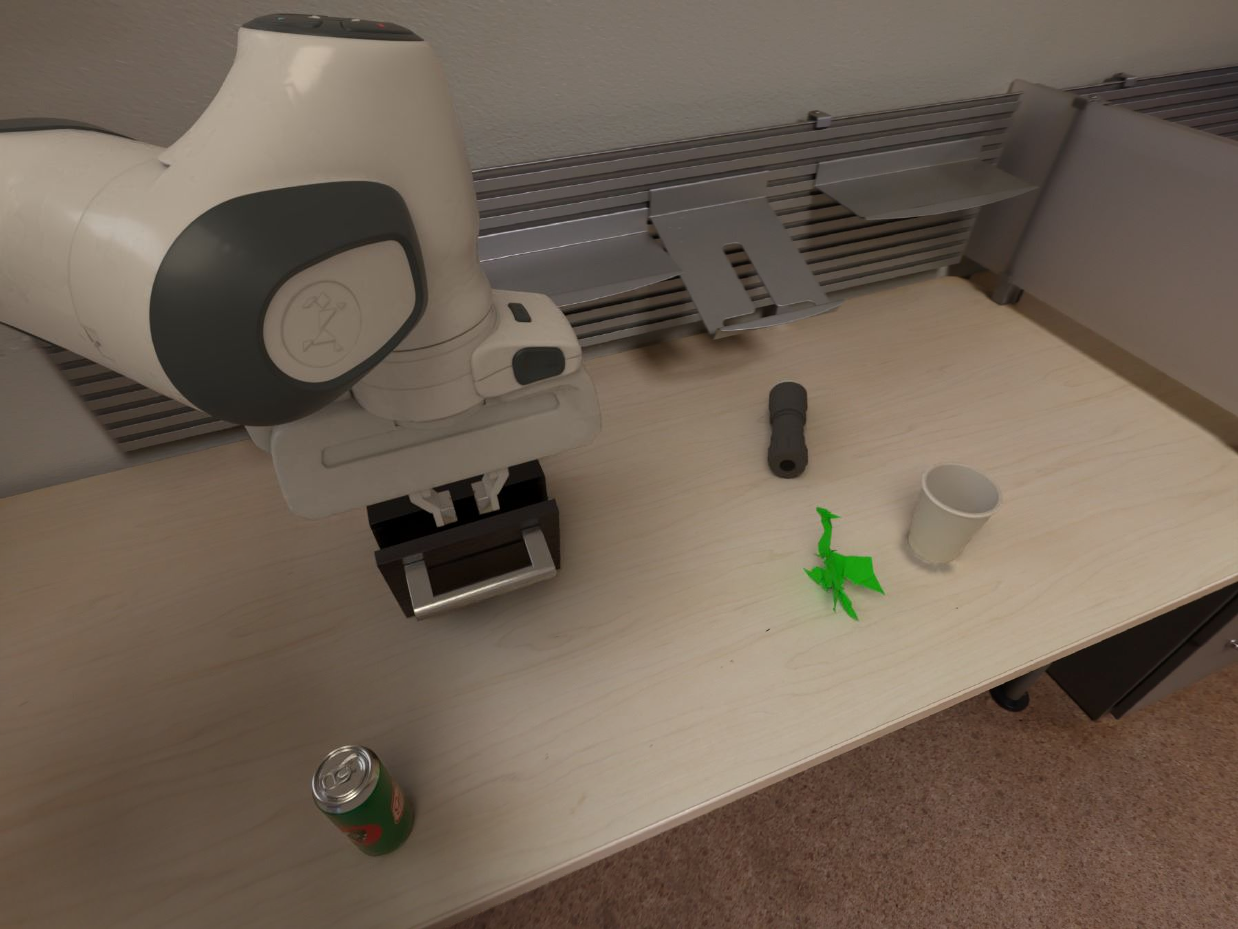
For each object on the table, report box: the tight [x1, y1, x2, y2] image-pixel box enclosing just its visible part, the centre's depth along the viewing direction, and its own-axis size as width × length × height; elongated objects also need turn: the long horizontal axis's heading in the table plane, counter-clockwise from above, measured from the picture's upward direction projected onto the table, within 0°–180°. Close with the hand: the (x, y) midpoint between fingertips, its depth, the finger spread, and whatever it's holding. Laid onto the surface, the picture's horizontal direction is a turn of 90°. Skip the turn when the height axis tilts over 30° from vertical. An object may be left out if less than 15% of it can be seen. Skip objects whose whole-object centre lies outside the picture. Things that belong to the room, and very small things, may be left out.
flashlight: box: [767, 379, 809, 479], centre depth 90 cm, size 15×5×5 cm, turn 169°
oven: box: [365, 459, 549, 550], centre depth 75 cm, size 14×18×14 cm
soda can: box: [311, 744, 414, 857], centre depth 52 cm, size 5×5×12 cm
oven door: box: [373, 497, 562, 622], centre depth 67 cm, size 7×18×14 cm, turn 112°
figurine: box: [802, 506, 886, 622], centre depth 71 cm, size 6×12×9 cm, turn 21°
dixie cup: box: [907, 461, 1004, 564], centre depth 74 cm, size 8×8×10 cm
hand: (467, 512), depth 47 cm, fingers closed
